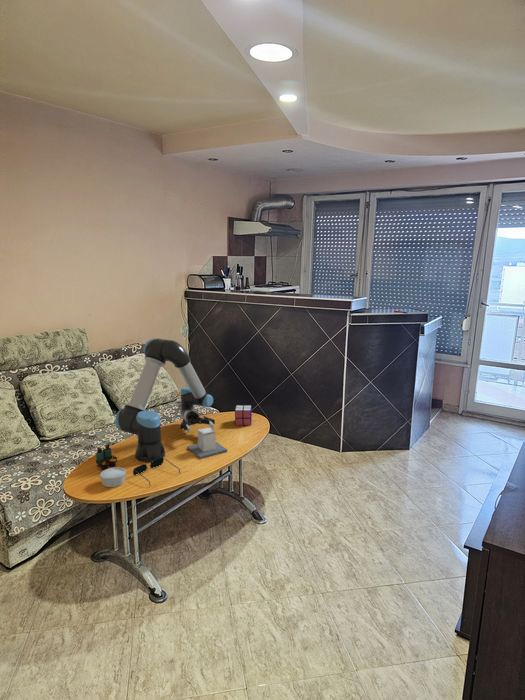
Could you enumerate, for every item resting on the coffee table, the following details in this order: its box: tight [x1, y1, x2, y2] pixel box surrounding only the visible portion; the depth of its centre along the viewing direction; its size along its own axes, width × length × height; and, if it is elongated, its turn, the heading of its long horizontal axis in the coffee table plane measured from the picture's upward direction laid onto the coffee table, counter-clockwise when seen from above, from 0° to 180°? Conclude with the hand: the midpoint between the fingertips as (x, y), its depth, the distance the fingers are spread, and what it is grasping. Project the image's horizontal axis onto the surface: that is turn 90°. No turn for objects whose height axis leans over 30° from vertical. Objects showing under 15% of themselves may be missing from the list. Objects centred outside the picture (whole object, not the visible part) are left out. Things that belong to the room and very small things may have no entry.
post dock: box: [186, 440, 228, 460], centre depth 235 cm, size 16×16×8 cm
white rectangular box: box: [197, 426, 216, 452], centre depth 235 cm, size 7×7×10 cm
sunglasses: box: [132, 457, 181, 487], centre depth 208 cm, size 17×15×5 cm
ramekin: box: [99, 466, 127, 488], centre depth 200 cm, size 11×11×5 cm
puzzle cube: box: [234, 405, 253, 426], centre depth 275 cm, size 10×10×10 cm
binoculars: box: [95, 443, 118, 471], centre depth 215 cm, size 9×11×10 cm
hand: (201, 428), depth 243 cm, fingers open, 13 cm apart
